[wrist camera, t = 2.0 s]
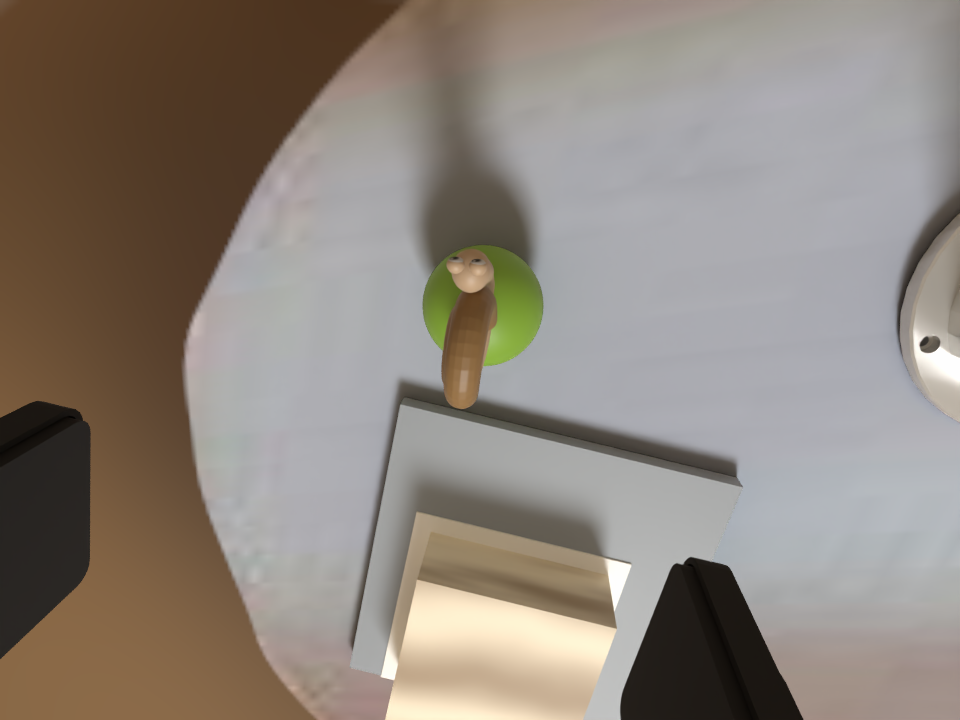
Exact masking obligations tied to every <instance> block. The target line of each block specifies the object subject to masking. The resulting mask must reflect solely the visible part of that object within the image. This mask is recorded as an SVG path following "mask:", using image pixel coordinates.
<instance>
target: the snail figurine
mask: <svg viewBox="0 0 960 720" xmlns="http://www.w3.org/2000/svg"><path fill="white" fill-rule="evenodd" d="M542 315H543V296H542V291H541V287H540V284H539V282H538V280H537V278H536V276H535V274H534V272H533V271H532V270H531V268H530V267H529V266H528V265H527V264H526V263H525V262H524V261H523V260H522V259H521V258H520V257H518V256H517V255H515V254H514V253H512V252H510V251H508V250H506V249H503V248H500V247H496V246H491V245H475V246H470V247H466V248H463V249H460V250H458V251H456V252H454V253H452V254H451V255H449V256H448V257H446V258H445V259H444V260H443V261H442V262H441V263H440V264H439V265H438V266H437V267H436V268H435V270H434V271H433V272H432V274H431V276H430V278H429V280H428V282H427V284H426V287H425V291H424V295H423V316H424V320H425V324H426V327H427V329H428V332H429V334H430V335H431V337H432V339H433V340H434V342H435V343H436V344H437V345H438V346H439V348H440V349H441V350H443V355H442V371H441V372H442V381H443V384H444V395H445V398H446V400H447V402H448V403H449V404H450V405H452V406H453V407H455V408H458V409H465V408H468V407H470V406H471V405H473V404H474V402H475V401H476V399H477V397H478V391H479V384H480V377H481V371H482V368H483V366H491V365H497V364H500V363H503V362H506V361H508V360H510V359H512V358H514V357H516V356H517V355H518V354H520V353H521V352H522V351H523V350H524V349H525V348H526V347H527V346H528V345H529V344H530V343H531V341H532V340H533V339H534V337H535V335H536V333H537V331H538V329H539V327H540V324H541V320H542Z"/></svg>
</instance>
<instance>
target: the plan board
mask: <svg viewBox="0 0 960 720" xmlns="http://www.w3.org/2000/svg"><path fill="white" fill-rule="evenodd" d="M742 489H743V486H742V485H741V483H740V482H739V480H738V478H737V477H733V476H728V475H724V474H720V473H716V472H712V471H708V470H704V469H700V468H695V467H691V466H687V465H683V464H679V463H675V462H671V461H667V460H662V459H658V458H654V457H650V456H646V455H642V454H638V453H633V452H629V451H625V450H621V449H617V448H613V447H609V446H605V445H600V444H596V443H592V442H588V441H584V440H580V439H576V438H572V437H567V436H563V435H559V434H555V433H551V432H547V431H543V430H538V429H534V428H530V427H526V426H522V425H518V424H514V423H510V422H505V421H501V420H497V419H493V418H489V417H485V416H481V415H477V414H472V413H468V412H464V411H460V410H456V409H452V408H448V407H443V406H439V405H435V404H431V403H427V402H423V401H419V400H415V399H410V398H406V397H404V399H403V400H402V402H401V404H400V409H399V414H398V419H397V424H396V429H395V435H394V440H393V445H392V450H391V455H390V460H389V466H388V471H387V476H386V481H385V486H384V492H383V497H382V502H381V507H380V512H379V518H378V523H377V528H376V533H375V538H374V543H373V549H372V554H371V559H370V564H369V569H368V575H367V580H366V585H365V590H364V595H363V600H362V606H361V611H360V616H359V621H358V626H357V632H356V637H355V642H354V647H353V652H352V658H351V663H350V668H353V669H357V670H361V671H365V672H369V673H373V674H377V675H381V677H383V678H387V679H391V680H394V679H395V675H396V671H397V666H398V662H399V657H400V653H401V649H402V644H403V640H404V635H405V631H406V627H407V622H408V618H409V613H410V609H411V605H412V600H413V596H414V591H415V587H416V583H417V578H418V575H419V571H420V568H421V565H422V561H423V558H424V554H425V551H426V547H427V544H428V540H429V537H430V533H431V532H434V533H438V534H442V535H446V536H450V537H454V538H458V539H462V540H466V541H470V542H475V543H479V544H483V545H487V546H491V547H495V548H499V549H503V550H507V551H511V552H515V553H519V554H523V555H527V556H532V557H536V558H540V559H544V560H548V561H552V562H556V563H560V564H564V565H568V566H572V567H576V568H580V569H584V570H589V571H593V572H597V573H601V574H605V575H608V576H609V582H610V588H611V595H612V601H613V607H614V613H615V619H616V625H617V631H616V633H615V636H614V639H613V641H612V644H611V647H610V649H609V652H608V655H607V657H606V660H605V663H604V665H603V668H602V671H601V673H600V676H599V679H598V681H597V684H596V687H595V689H594V692H593V695H592V697H591V700H590V703H589V705H588V708H587V711H586V713H585V716H584V719H583V720H621V718H620V702H621V696H622V692H623V689H624V686H625V683H626V681H627V678H628V676H629V673H630V671H631V668H632V666H633V663H634V661H635V658H636V656H637V653H638V650H639V648H640V645H641V643H642V640H643V638H644V635H645V633H646V630H647V628H648V625H649V623H650V620H651V617H652V615H653V612H654V610H655V607H656V605H657V602H658V600H659V597H660V595H661V592H662V590H663V587H664V584H665V582H666V579H667V577H668V574H669V572H670V570H671V568H672V566H673V565H674V564H676V563H679V564H684V562H685V561H686V559H687V558H689V557H694V558H698V559H703V560H707V561H711V562H712V560H713V558H714V555H715V553H716V550H717V548H718V546H719V543H720V541H721V539H722V536H723V534H724V531H725V529H726V527H727V524H728V522H729V520H730V517H731V515H732V513H733V510H734V508H735V505H736V503H737V501H738V498H739V496H740V494H741V491H742Z"/></svg>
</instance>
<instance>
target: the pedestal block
mask: <svg viewBox="0 0 960 720" xmlns="http://www.w3.org/2000/svg"><path fill="white" fill-rule="evenodd" d="M616 631H617V625H616V619H615V613H614V607H613V601H612V595H611V588H610V582H609V576H608V575H605V574H601V573H597V572H593V571H589V570H584V569H580V568H576V567H572V566H568V565H564V564H560V563H556V562H552V561H548V560H544V559H540V558H536V557H532V556H527V555H523V554H519V553H515V552H511V551H507V550H503V549H499V548H495V547H491V546H487V545H483V544H479V543H475V542H470V541H466V540H462V539H458V538H454V537H450V536H446V535H442V534H438V533H434V532H431V533H430V537H429V540H428V544H427V547H426V551H425V554H424V558H423V561H422V565H421V568H420V571H419V575H418V578H417V583H416V587H415V591H414V596H413V600H412V605H411V609H410V613H409V618H408V622H407V627H406V631H405V635H404V640H403V644H402V649H401V653H400V657H399V662H398V666H397V671H396V675H395V679H394V684H393V688H392V693H391V697H390V701H389V706H388V710H387V715H386V719H385V720H583V719H584V716H585V713H586V711H587V708H588V705H589V703H590V700H591V697H592V695H593V692H594V689H595V687H596V684H597V681H598V679H599V676H600V673H601V671H602V668H603V665H604V663H605V660H606V657H607V655H608V652H609V649H610V647H611V644H612V641H613V639H614V636H615V633H616Z"/></svg>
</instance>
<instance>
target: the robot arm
mask: <svg viewBox="0 0 960 720" xmlns="http://www.w3.org/2000/svg"><path fill="white" fill-rule="evenodd" d="M922 339H923V340H922ZM921 340H922V341H921ZM900 342H901V348H902V354H903V360H904V362H905V364H906V367H907V369H908V371H909V374H910V376H911V378H912V381H913V382H914V383H915V385H916V386H917V387H918V389H919V390H920V391H921V393H922V394H923V395H924V397H925V398H926V399H927V400H928V401H930V402H931V403H932V404H933V405H934V406H936V407H937V408H938V409H939V410H940V411H942V412H943V413H944V414H946V415H947V416H949V417H951V418H952V419H954V420H956V421H957V422H959V423H960V213H959V214H958V215H957V216H956V217H955V218H954V219H953V220H952V221H951V222H950V223H949V224H948V225H947V226H946V227H945V229H944V230H943V231H942V232H941V233H940V234H939V235H938V236H937V237H936V238H935V240H934V241H933V242H932V244H931V245H930V247H929V248H928V250H927V251H926V253H925V254H924V255H923V257H922V258H921V260H920V261H919V263H918V265H917V267H916V270H915V272H914V274H913V276H912V278H911V280H910V282H909V285H908V287H907V290H906V294H905V298H904V302H903V306H902V310H901V318H900ZM89 561H90V427H89V425H88V423H87V422H85V421H83V418H82V416H81V414H80V412H78V411H77V410H76V409H72V408H68V407H63V406H59V405H55V404H51V403H47V402H42V401H35V402H32V403H29V404H27V405H25V406H23V407H21V408H19V409H17V410H15V411H13V412H11V413H9V414H7V415H5V416H3V417H1V418H0V659H1V658H2V657H3V656H4V655H5V654H6V653H7V652H8V651H9V650H10V649H11V648H12V647H14V645H16V643H18V642H19V641H20V640H21V639H22V638H23V637H24V636H25V635H26V634H27V633H28V632H29V631H30V630H31V629H33V628H34V627H35V626H36V625H37V624H38V623H39V622H40V621H41V620H42V619H43V618H44V617H45V616H46V615H47V614H48V613H49V612H50V611H52V610H53V609H54V608H55V607H56V606H57V605H58V604H59V603H60V602H61V601H62V600H63V599H64V598H65V597H66V596H67V595H68V594H69V593H71V592H72V590H74V589H75V588H76V587H77V586H78V585H79V584H80V582H81V581H82V579H83V578H84V576H85V574H86V572H87V570H88V567H89ZM620 718H621V720H803V718H802V716H801V714H800V712H799V709H798V707H797V705H796V703H795V701H794V699H793V697H792V695H791V693H790V690H789V688H788V686H787V684H786V682H785V680H784V679H783V677H782V676H781V674H780V673H779V671H778V669H777V667H776V664H775V662H774V660H773V658H772V656H771V654H770V652H769V650H768V647H767V645H766V643H765V641H764V639H763V637H762V635H761V633H760V630H759V628H758V626H757V624H756V622H755V620H754V618H753V616H752V613H751V611H750V609H749V607H748V605H747V603H746V601H745V599H744V597H743V594H742V592H741V590H740V588H739V586H738V584H737V582H736V580H735V577H734V575H733V573H732V571H731V570H730V568H729V567H728V566H726V565H723V564H719V563H715V562H711V561H707V560H703V559H698V558H694V557H689V558H687V559H686V561H685V562H684V564H679V563H676V564H674V565H673V566H672V568H671V570H670V572H669V574H668V577H667V579H666V582H665V584H664V587H663V590H662V592H661V595H660V597H659V600H658V602H657V605H656V607H655V610H654V612H653V615H652V617H651V620H650V623H649V625H648V628H647V630H646V633H645V635H644V638H643V640H642V643H641V645H640V648H639V650H638V653H637V656H636V658H635V661H634V663H633V666H632V668H631V671H630V673H629V676H628V678H627V681H626V683H625V686H624V689H623V692H622V696H621V702H620Z"/></svg>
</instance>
